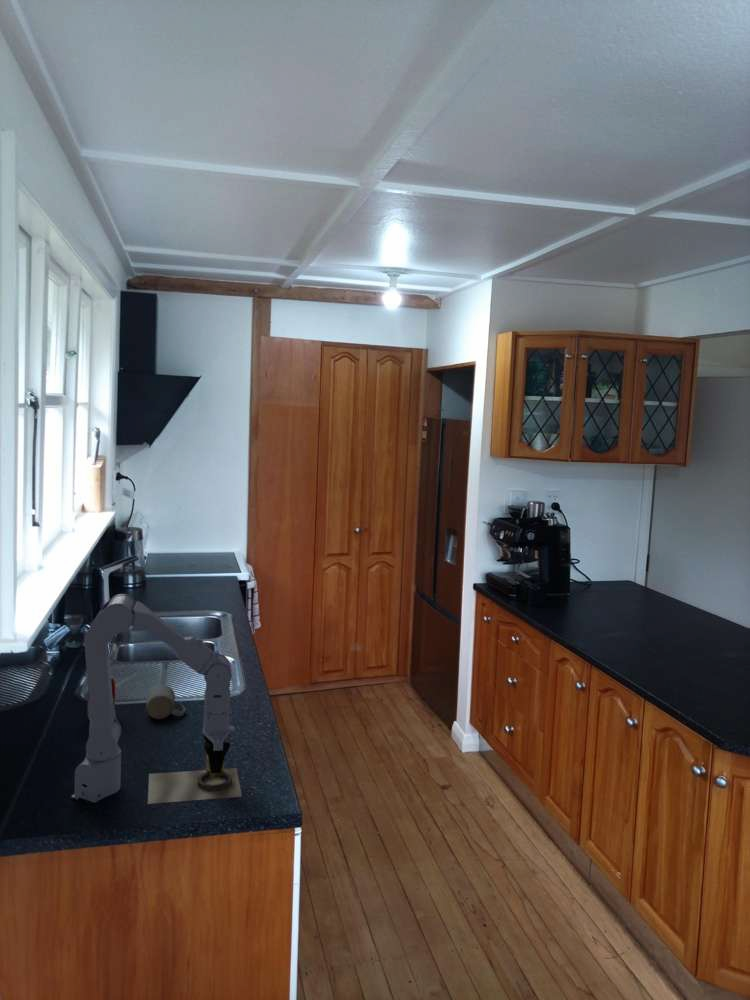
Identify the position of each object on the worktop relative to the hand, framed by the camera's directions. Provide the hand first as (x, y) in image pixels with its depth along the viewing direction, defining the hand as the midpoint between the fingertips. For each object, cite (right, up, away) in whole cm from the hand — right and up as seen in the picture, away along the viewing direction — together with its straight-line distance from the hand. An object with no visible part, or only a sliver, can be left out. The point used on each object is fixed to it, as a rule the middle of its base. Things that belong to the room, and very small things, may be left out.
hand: (215, 767), depth 176 cm
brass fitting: (0, -1, 0) cm, 1 cm away
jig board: (-5, -5, -1) cm, 7 cm away
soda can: (-38, +1, +35) cm, 52 cm away
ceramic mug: (-23, 0, +41) cm, 47 cm away
